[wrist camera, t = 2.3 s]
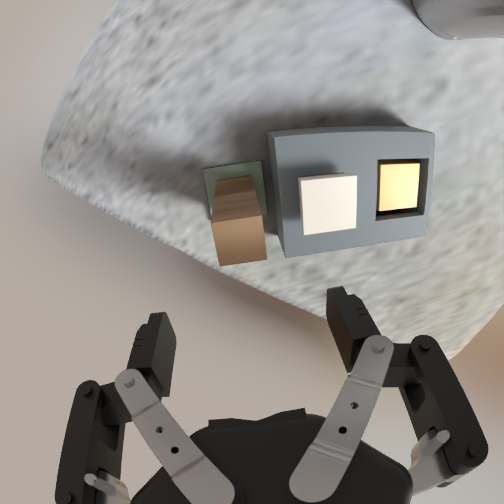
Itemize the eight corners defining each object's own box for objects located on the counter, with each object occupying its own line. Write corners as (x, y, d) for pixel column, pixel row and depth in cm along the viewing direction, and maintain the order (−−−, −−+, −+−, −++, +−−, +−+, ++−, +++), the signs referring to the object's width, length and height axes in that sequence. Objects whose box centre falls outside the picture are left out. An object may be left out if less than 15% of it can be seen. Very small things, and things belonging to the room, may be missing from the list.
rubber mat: (203, 169, 29) (202, 170, 28) (260, 160, 29) (261, 161, 28) (212, 221, 32) (212, 223, 31) (266, 213, 32) (267, 215, 31)
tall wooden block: (216, 180, 29) (210, 223, 20) (250, 174, 29) (261, 215, 20) (222, 211, 31) (219, 266, 21) (254, 206, 31) (267, 259, 21)
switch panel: (266, 131, 27) (274, 137, 23) (409, 126, 28) (434, 133, 23) (277, 235, 33) (285, 258, 29) (405, 218, 34) (425, 235, 29)
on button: (291, 170, 26) (300, 181, 23) (342, 165, 26) (356, 175, 23) (295, 219, 29) (303, 235, 25) (342, 213, 29) (355, 228, 25)
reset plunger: (371, 160, 27) (380, 164, 26) (409, 159, 27) (419, 163, 26) (371, 204, 30) (379, 211, 28) (407, 200, 30) (416, 207, 28)
